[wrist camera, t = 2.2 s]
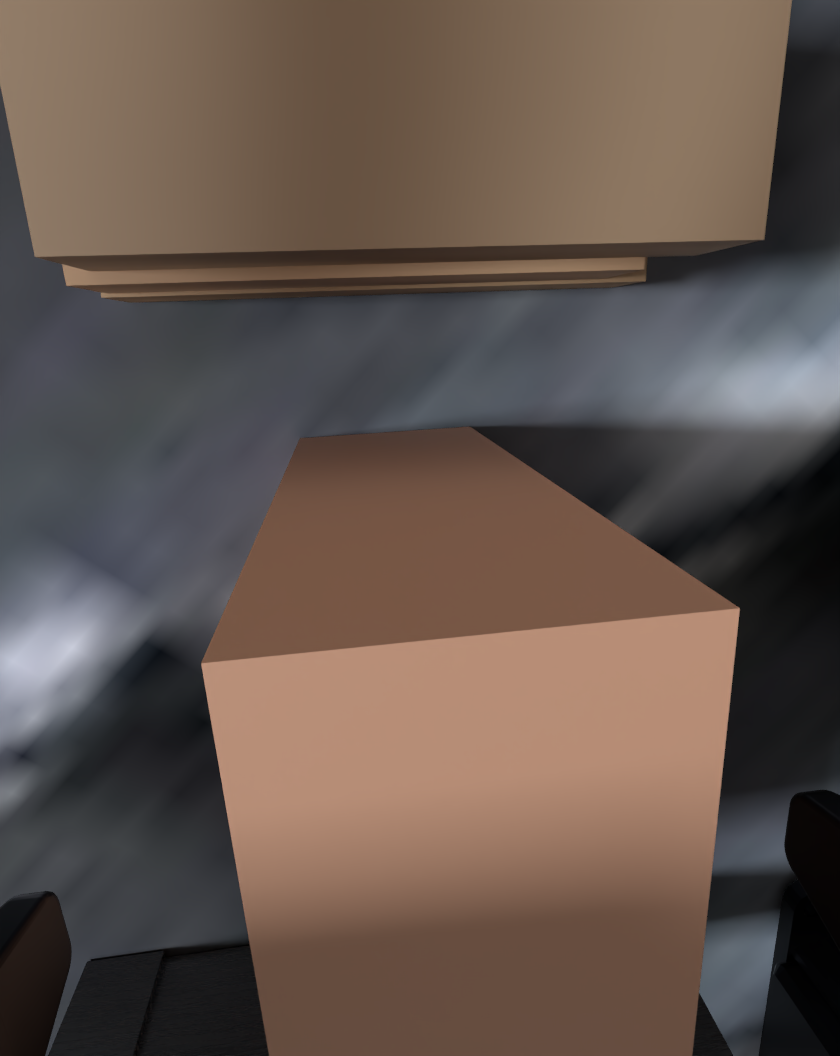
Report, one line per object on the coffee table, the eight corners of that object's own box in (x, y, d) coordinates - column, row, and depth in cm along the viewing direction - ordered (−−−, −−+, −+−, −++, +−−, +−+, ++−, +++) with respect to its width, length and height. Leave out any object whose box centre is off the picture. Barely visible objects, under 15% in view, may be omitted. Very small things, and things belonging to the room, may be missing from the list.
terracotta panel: (469, 426, 11) (740, 608, 4) (481, 834, 14) (651, 1439, 6) (300, 437, 11) (200, 663, 3) (345, 852, 14) (346, 1513, 6)
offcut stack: (622, 29, 10) (812, -182, 6) (608, 288, 11) (761, 259, 7) (87, 22, 9) (-115, -230, 5) (133, 303, 10) (-4, 279, 6)
